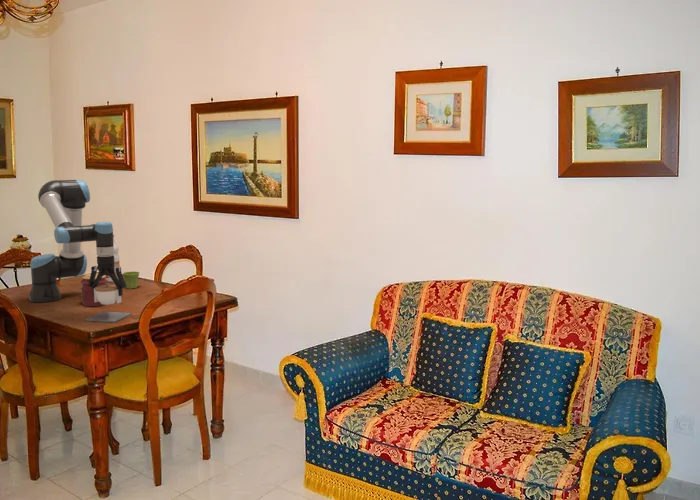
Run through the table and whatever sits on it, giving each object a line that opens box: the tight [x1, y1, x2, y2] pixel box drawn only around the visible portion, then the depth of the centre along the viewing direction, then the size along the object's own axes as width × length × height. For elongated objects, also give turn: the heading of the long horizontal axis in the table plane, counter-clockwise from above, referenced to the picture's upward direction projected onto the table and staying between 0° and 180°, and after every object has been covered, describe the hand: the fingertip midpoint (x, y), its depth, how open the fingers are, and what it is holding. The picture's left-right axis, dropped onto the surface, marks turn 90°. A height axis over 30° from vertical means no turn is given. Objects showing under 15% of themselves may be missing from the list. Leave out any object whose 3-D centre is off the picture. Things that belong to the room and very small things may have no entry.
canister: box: [80, 270, 109, 307], centre depth 325 cm, size 13×13×18 cm
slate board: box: [84, 310, 133, 324], centre depth 299 cm, size 15×15×1 cm
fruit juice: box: [105, 234, 121, 283], centre depth 382 cm, size 9×9×28 cm
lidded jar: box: [95, 282, 118, 306], centre depth 297 cm, size 11×11×9 cm
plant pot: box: [122, 271, 141, 290], centre depth 364 cm, size 9×9×9 cm
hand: (108, 302), depth 297 cm, fingers closed on lidded jar, 11 cm apart
